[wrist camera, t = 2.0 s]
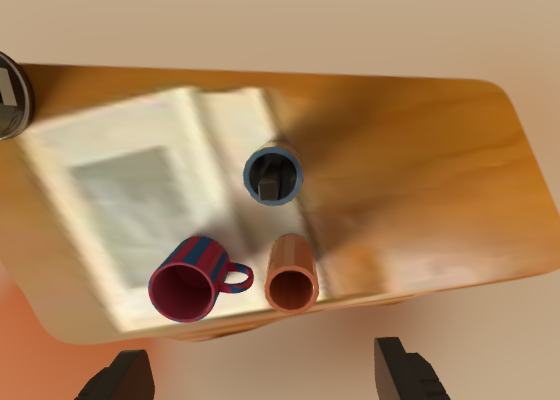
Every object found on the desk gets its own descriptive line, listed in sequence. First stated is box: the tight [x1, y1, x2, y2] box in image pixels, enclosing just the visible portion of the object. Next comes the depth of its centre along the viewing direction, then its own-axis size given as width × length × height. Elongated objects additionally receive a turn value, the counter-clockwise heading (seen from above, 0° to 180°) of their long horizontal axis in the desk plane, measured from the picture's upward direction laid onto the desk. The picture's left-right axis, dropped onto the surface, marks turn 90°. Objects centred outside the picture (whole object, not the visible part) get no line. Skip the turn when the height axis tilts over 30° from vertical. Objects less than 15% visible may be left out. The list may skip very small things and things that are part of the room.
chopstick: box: [258, 159, 283, 201], centre depth 27 cm, size 1×1×13 cm
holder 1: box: [243, 141, 303, 206], centre depth 30 cm, size 5×5×8 cm
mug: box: [148, 236, 254, 323], centre depth 34 cm, size 7×10×7 cm
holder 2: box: [264, 234, 319, 314], centre depth 32 cm, size 5×5×8 cm
